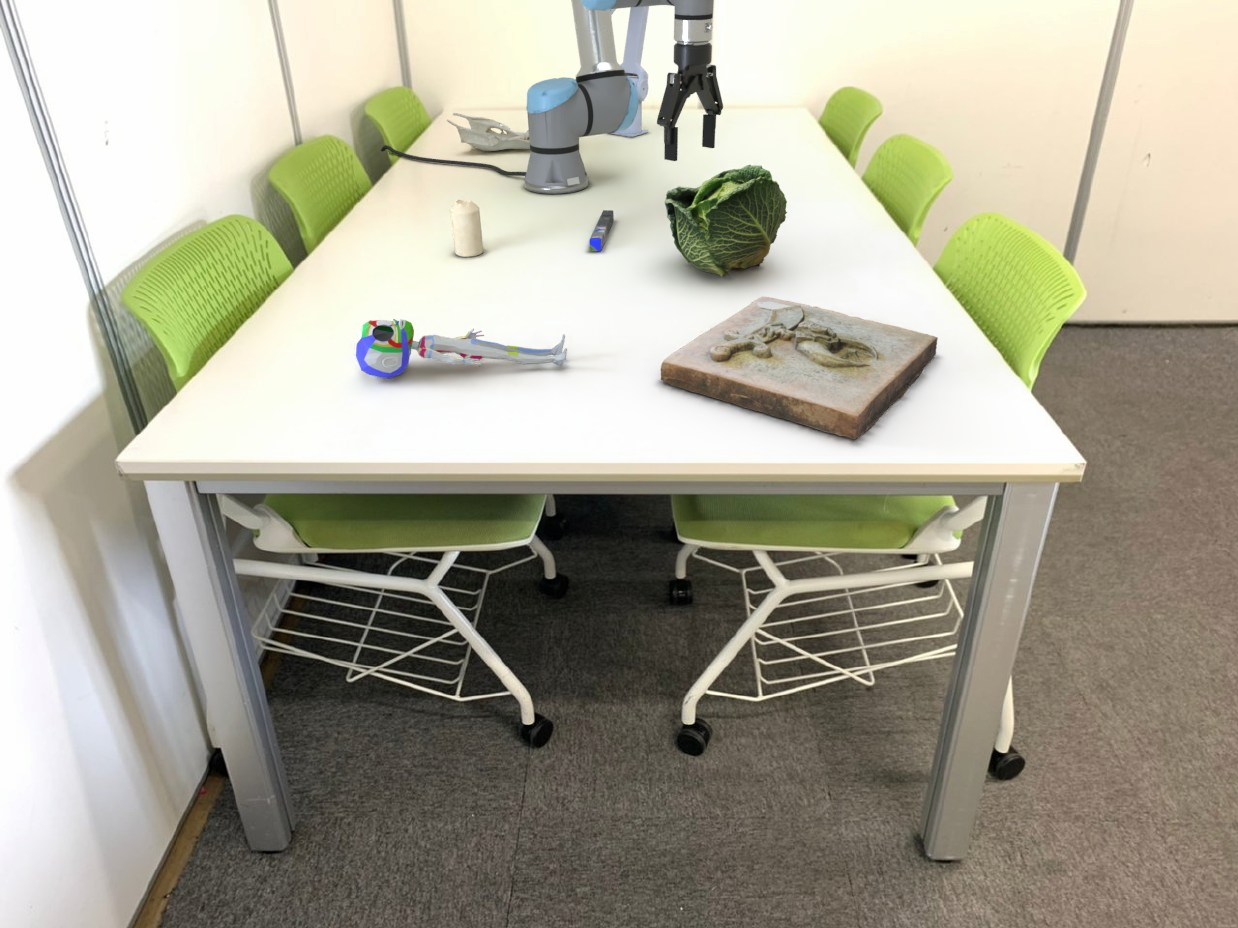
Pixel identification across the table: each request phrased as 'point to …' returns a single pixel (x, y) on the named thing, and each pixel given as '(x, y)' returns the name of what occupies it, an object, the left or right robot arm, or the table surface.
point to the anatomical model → (490, 135)
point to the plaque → (803, 364)
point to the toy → (435, 349)
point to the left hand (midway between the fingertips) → (690, 153)
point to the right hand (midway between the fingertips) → (596, 111)
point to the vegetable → (727, 219)
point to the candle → (466, 228)
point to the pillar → (601, 230)
